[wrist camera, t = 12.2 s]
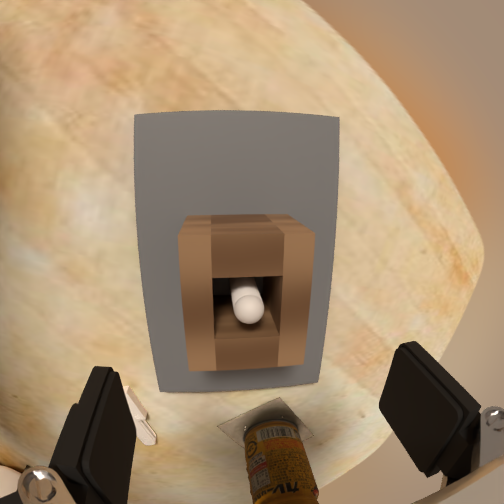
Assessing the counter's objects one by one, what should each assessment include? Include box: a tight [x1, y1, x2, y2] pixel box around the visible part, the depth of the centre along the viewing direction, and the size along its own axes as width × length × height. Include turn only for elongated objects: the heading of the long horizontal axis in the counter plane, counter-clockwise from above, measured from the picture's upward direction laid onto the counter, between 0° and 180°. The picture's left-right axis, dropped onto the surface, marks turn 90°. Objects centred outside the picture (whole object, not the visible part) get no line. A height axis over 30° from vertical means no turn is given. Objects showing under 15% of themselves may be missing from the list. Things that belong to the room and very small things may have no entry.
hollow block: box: [178, 214, 315, 371], centre depth 19 cm, size 8×7×6 cm
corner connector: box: [77, 385, 157, 445], centre depth 26 cm, size 8×8×2 cm
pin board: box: [134, 110, 339, 392], centre depth 19 cm, size 22×14×8 cm, turn 179°
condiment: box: [217, 397, 319, 504], centre depth 23 cm, size 7×8×12 cm
